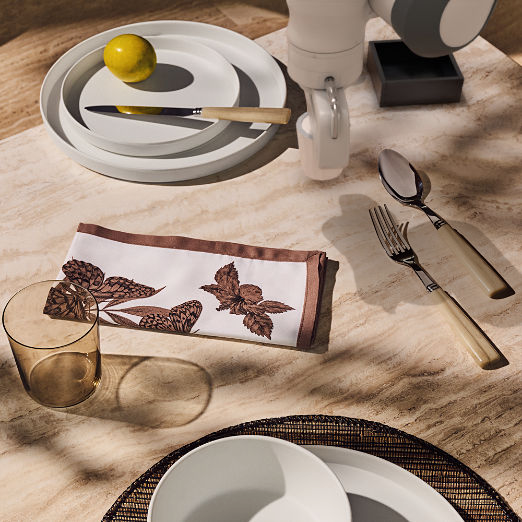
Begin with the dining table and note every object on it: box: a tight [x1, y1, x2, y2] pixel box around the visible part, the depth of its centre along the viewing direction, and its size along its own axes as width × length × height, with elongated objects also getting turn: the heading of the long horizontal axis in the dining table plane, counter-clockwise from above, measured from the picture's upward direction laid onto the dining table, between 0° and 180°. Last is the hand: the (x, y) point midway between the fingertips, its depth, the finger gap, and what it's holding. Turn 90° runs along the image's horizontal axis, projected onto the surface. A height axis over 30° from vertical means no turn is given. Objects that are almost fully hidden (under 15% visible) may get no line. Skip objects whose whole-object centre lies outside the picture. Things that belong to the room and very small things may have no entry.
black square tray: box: [366, 38, 465, 108], centre depth 118 cm, size 14×14×5 cm
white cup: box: [295, 111, 352, 181], centre depth 88 cm, size 7×7×7 cm
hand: (322, 150), depth 89 cm, fingers closed on white cup, 5 cm apart
